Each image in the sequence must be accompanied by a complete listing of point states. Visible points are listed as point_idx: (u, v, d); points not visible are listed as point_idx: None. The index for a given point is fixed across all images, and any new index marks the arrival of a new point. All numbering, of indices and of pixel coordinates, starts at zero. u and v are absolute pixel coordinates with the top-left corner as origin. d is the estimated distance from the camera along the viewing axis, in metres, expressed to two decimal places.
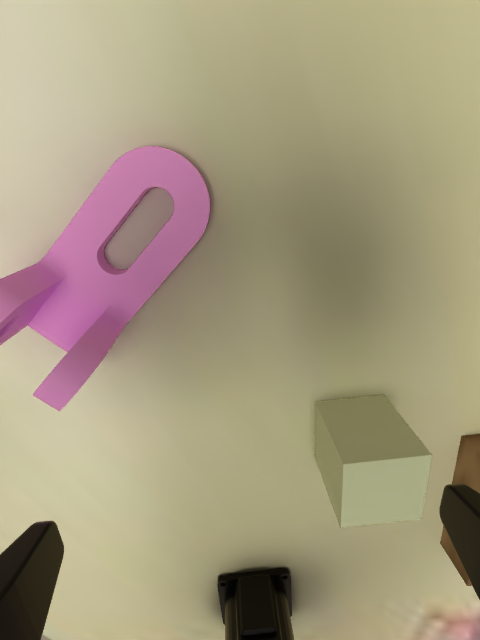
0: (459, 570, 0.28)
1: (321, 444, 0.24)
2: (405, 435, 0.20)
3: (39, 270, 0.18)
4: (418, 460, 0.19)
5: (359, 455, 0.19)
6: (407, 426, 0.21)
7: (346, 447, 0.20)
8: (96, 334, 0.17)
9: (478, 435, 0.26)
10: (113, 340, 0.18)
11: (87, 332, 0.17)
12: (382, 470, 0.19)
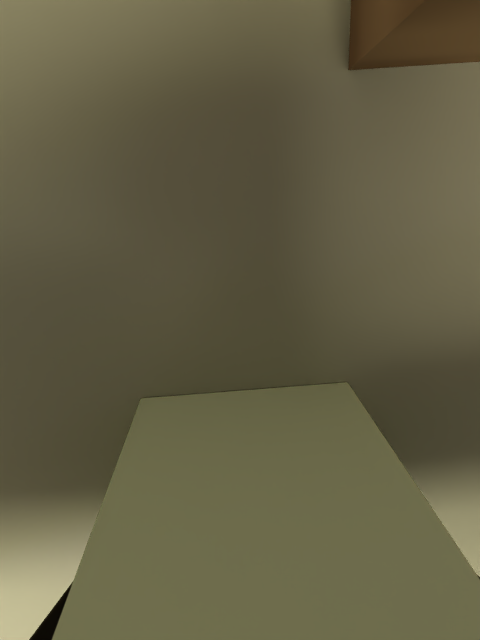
0: None
1: None
2: None
3: None
4: None
5: None
6: (87, 550, 0.05)
7: None
8: None
9: None
10: None
11: None
12: None
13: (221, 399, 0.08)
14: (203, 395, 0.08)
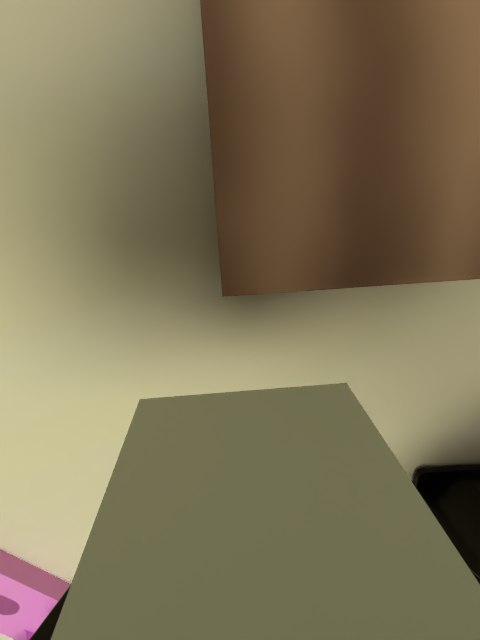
0: None
1: None
2: None
3: None
4: None
5: None
6: (86, 551, 0.05)
7: None
8: None
9: None
10: None
11: None
12: None
13: (220, 400, 0.08)
14: (202, 396, 0.08)
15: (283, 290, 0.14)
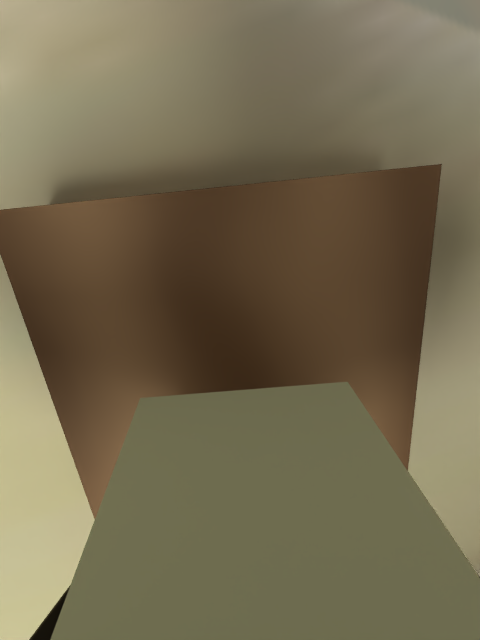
0: None
1: None
2: None
3: None
4: None
5: None
6: (86, 550, 0.05)
7: None
8: None
9: None
10: None
11: None
12: None
13: (221, 398, 0.08)
14: (203, 394, 0.08)
15: None
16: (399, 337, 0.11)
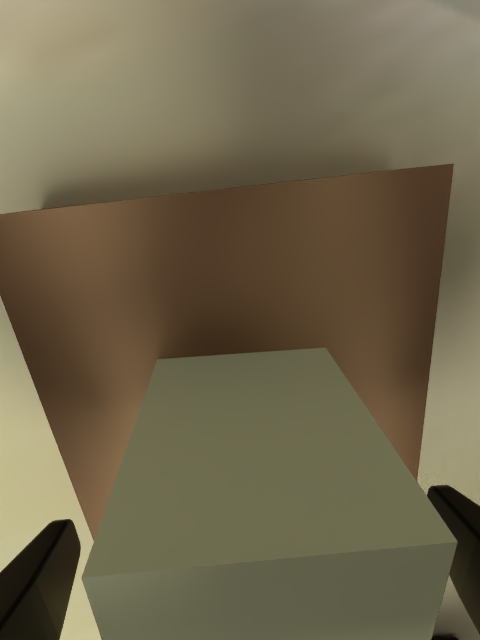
0: None
1: None
2: None
3: None
4: (115, 610, 0.05)
5: None
6: None
7: None
8: None
9: None
10: None
11: None
12: None
13: (222, 359, 0.10)
14: (208, 356, 0.10)
15: None
16: (408, 345, 0.10)
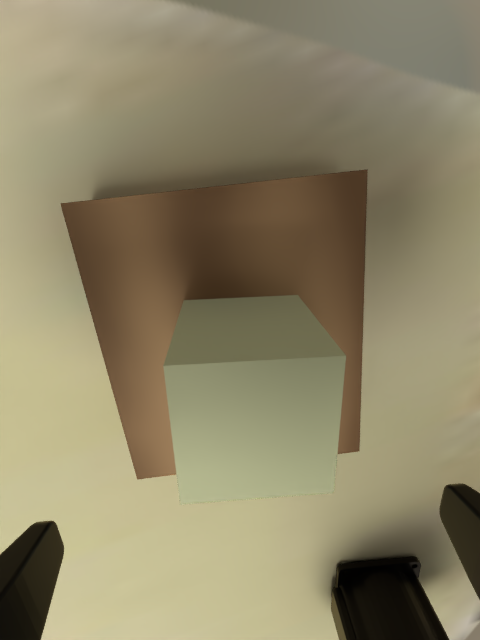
0: None
1: None
2: None
3: None
4: (177, 388, 0.09)
5: None
6: None
7: None
8: None
9: None
10: None
11: None
12: (198, 447, 0.10)
13: (228, 300, 0.15)
14: (218, 299, 0.15)
15: None
16: (347, 293, 0.15)
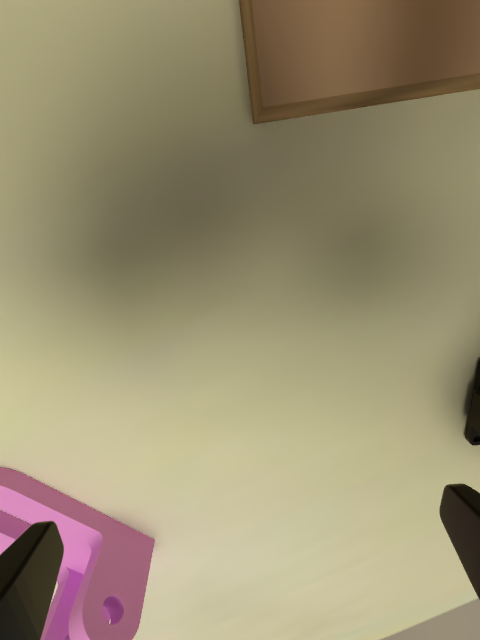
0: None
1: None
2: None
3: (58, 590, 0.23)
4: None
5: None
6: None
7: None
8: (81, 588, 0.20)
9: None
10: (92, 572, 0.20)
11: (75, 599, 0.20)
12: None
13: None
14: None
15: (332, 93, 0.12)
16: None
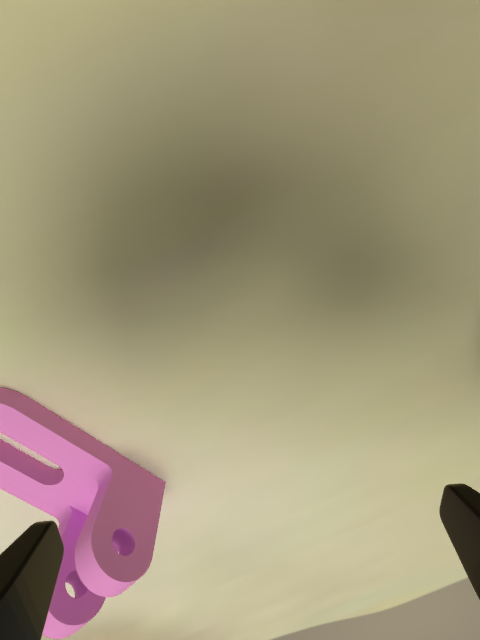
0: None
1: None
2: None
3: (59, 529, 0.21)
4: None
5: None
6: None
7: None
8: (89, 519, 0.18)
9: None
10: (101, 502, 0.19)
11: (82, 529, 0.18)
12: None
13: None
14: None
15: None
16: None
